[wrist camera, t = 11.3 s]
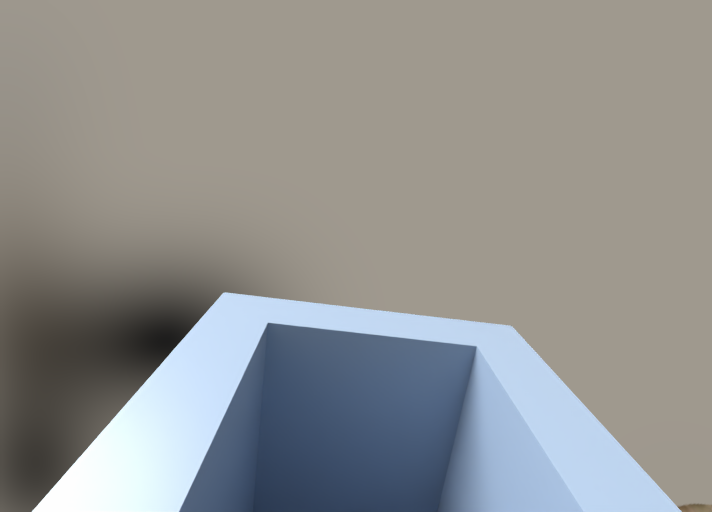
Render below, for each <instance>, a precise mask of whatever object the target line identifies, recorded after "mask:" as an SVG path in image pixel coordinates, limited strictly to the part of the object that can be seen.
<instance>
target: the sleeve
mask: <svg viewBox="0 0 712 512" xmlns="http://www.w3.org/2000/svg"><path fill="white" fill-rule="evenodd" d="M32 512H681V511H680V509H679V508H678V507H677V506H676V505H675V504H674V503H673V502H672V501H671V500H670V498H669V497H668V496H667V495H666V494H665V493H664V492H663V491H662V490H661V489H660V488H659V487H658V486H657V484H656V483H655V482H654V481H653V480H652V479H651V478H650V477H649V476H648V474H647V473H646V472H645V471H644V470H643V469H642V468H641V467H640V466H639V465H638V464H637V463H636V461H635V460H634V459H633V458H632V457H631V456H630V455H629V454H628V453H627V452H626V450H625V449H624V448H623V447H622V446H621V445H620V444H619V443H618V442H617V441H616V440H615V439H614V438H613V436H612V435H611V434H610V433H609V432H608V431H607V430H606V429H605V427H604V426H603V425H602V424H601V423H600V422H599V421H598V420H597V419H596V418H595V417H594V415H593V414H592V413H591V412H590V411H589V410H588V409H587V408H586V407H585V406H584V405H583V403H582V402H581V401H580V400H579V399H578V398H577V397H576V396H575V395H574V394H573V393H572V392H571V390H570V389H569V388H568V387H567V386H566V385H565V384H564V383H563V382H562V380H561V379H560V378H559V377H558V376H557V375H556V374H555V373H554V372H553V371H552V370H551V368H550V367H549V366H548V365H547V364H546V363H545V362H544V361H543V360H542V359H541V358H540V357H539V355H537V353H536V352H535V351H534V350H533V349H532V348H531V347H530V346H529V345H528V343H527V342H526V341H525V340H524V339H523V338H522V337H521V336H520V335H519V333H518V332H517V331H516V330H515V329H514V328H513V327H512V326H507V325H499V324H489V323H481V322H473V321H464V320H456V319H447V318H439V317H429V316H421V315H413V314H404V313H396V312H387V311H378V310H370V309H361V308H353V307H344V306H335V305H326V304H318V303H309V302H301V301H292V300H283V299H275V298H267V297H257V296H249V295H241V294H232V293H223V294H222V295H221V296H220V298H219V299H218V300H217V301H216V302H215V303H214V304H213V305H212V307H211V308H210V309H209V310H208V311H207V313H205V315H204V316H203V317H202V318H201V319H200V320H199V322H198V323H197V324H196V325H195V326H194V327H193V329H192V330H191V331H190V332H189V333H188V334H187V335H186V336H185V338H184V339H183V340H182V341H181V342H180V343H179V344H178V346H177V347H176V348H175V349H174V350H173V351H172V352H171V354H170V355H169V356H168V357H167V358H166V359H165V361H164V362H163V363H162V364H161V365H160V366H159V367H158V369H157V370H156V371H155V372H154V373H153V374H152V375H151V376H150V378H149V379H148V380H147V381H146V382H145V383H144V384H143V386H142V387H141V388H140V389H139V390H138V391H137V392H136V394H135V395H134V396H133V397H132V398H131V399H130V400H129V402H128V403H127V404H126V405H125V406H124V407H123V408H122V410H121V411H120V412H119V413H118V414H117V415H116V416H115V418H114V419H113V420H112V421H111V422H110V423H109V425H108V426H107V427H106V428H105V429H104V430H103V431H102V433H101V434H100V435H99V436H98V437H97V438H96V439H95V441H94V442H93V443H92V444H91V445H90V446H89V448H87V450H86V451H85V452H84V453H83V454H82V455H81V456H80V458H79V459H78V460H77V461H76V462H75V463H74V465H73V466H72V467H71V468H70V469H69V470H68V471H67V473H66V474H65V475H64V476H63V477H62V478H61V479H60V481H59V482H58V483H57V484H56V485H55V486H54V487H53V489H52V490H51V491H50V492H49V493H48V494H47V495H46V496H45V498H44V499H43V500H42V501H41V502H40V503H39V504H38V506H37V507H36V508H35V509H34V510H33V511H32Z"/></svg>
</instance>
